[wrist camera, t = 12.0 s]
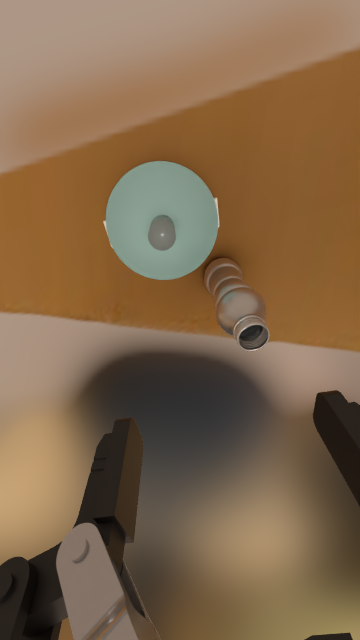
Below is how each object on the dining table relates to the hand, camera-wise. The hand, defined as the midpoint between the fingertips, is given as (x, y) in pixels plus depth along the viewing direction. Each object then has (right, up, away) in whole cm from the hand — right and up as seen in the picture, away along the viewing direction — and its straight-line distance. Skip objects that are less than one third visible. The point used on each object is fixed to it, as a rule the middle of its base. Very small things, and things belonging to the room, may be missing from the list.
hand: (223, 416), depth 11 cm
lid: (-4, +16, +21) cm, 27 cm away
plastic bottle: (+5, +13, +33) cm, 36 cm away
